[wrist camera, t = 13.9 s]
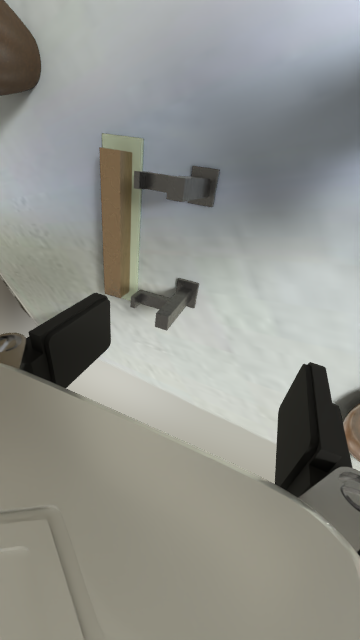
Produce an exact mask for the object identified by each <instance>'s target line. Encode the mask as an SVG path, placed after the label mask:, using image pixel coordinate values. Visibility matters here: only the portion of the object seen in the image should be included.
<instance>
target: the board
mask: <svg viewBox="0 0 360 640" xmlns="http://www.w3.org/2000/svg"><path fill="white" fill-rule="evenodd" d="M143 144H144V139H142V138H135V137H127V136H119V135H112V134H104V133H102V148H108V149H115V150H121V151H127V152H132V194H131V241H130V288H129V292H128V293H127V294H125V295H124V296H123V297H121V298H123V299H126V300H129V301H131V296H132V295H133V294H135V293H136V292H137V290H138V266H139V242H140V217H141V193H142V189H135V188H134V171H142V169H143Z"/></svg>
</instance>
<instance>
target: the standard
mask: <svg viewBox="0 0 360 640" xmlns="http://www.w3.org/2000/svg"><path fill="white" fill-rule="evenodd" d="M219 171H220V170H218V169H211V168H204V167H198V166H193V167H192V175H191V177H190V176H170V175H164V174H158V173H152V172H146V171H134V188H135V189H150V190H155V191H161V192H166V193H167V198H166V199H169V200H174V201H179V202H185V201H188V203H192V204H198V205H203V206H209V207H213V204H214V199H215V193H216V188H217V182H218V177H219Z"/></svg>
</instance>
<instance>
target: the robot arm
mask: <svg viewBox="0 0 360 640" xmlns="http://www.w3.org/2000/svg"><path fill="white" fill-rule="evenodd" d="M110 343H111V334H110V301H109V300H108V298H107V297H106V296H105V295H102V294H98V293H93V294H92V295H90V296H88V297H87V298H85V299H83V300H82V301H80V302H78V303H76V304H75V305H73V306H71V307H70V308H68V309H66V310H65V311H63V312H61V313H60V314H58V315H56V316H55V317H53V318H51V319H50V320H48V321H46V322H45V323H43V324H41V325H39V326H38V327H36V328H35V329H33V330H31V331H29V337H28V338H25V337H24V335H21V334H19V333H5V334H1V335H0V640H360V472H359V471H358V470H356V469H353V468H352V463H351V459H350V454H349V449H348V445H347V440H346V435H345V431H344V426H343V421H342V417H341V412H340V409H339V407H338V406H337V405H336V404H333V403H332V399H331V394H330V389H329V383H328V378H327V373H326V368H325V367H323V366H320V365H317V364H314V363H311V362H310V363H309V364H308V365H306V364H303V365H302V367H301V369H300V370H299V372H298V374H297V376H296V378H295V380H294V382H293V383H292V385H291V387H290V389H289V391H288V393H287V394H286V396H285V398H284V400H283V402H282V404H281V406H280V408H279V413H278V431H277V451H276V452H277V453H276V472H275V484H273V483H271V482H269V481H268V480H266V479H264V478H262V477H260V476H258V475H256V474H254V473H252V472H250V471H247V470H245V469H243V468H241V467H239V466H237V465H235V464H233V463H230V462H228V461H226V460H224V459H222V458H220V457H218V456H216V455H213V454H211V453H209V452H206V451H205V450H202V449H200V448H198V447H196V446H193V445H191V444H189V443H187V442H185V441H182V440H180V439H178V438H176V437H173V436H171V435H169V434H167V433H164V432H163V431H160V430H158V429H156V428H154V427H151V426H149V425H147V424H145V423H142V422H140V421H138V420H136V419H134V418H131V417H129V416H127V415H125V414H122V413H120V412H118V411H116V410H113V409H111V408H109V407H106V406H104V405H102V404H100V403H98V402H95V401H93V400H91V399H88V398H86V397H84V396H82V395H79V394H77V393H75V392H72V391H70V390H68V389H66V388H67V387H68V386H69V385H70V384H71V383H72V382H73V381H74V380H75V379H76V378H77V377H78V376H79V375H80V374H81V373H82V372H83V371H84V370H86V369H87V368H88V367H89V366H90V365H91V364H92V363H93V362H94V361H95V360H96V359H97V358H98V357H99V356H100V355H101V354H103V353H104V352H105V351H106V350H107V349H108V348H109V346H110Z"/></svg>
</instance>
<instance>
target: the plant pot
mask: <svg viewBox="0 0 360 640" xmlns="http://www.w3.org/2000/svg"><path fill="white" fill-rule="evenodd" d="M40 72H41V60H40V54H39V50H38V46H37V44H36V41H35V39H34V37H33V36H32V34H31V33H30V31H29V30H28V29H27V27H26V26H25V25H24V24H23V22H22V21H21V20H20V19H19V17H18V16H17V15H16V14H15V13H14V11H13V10H12V9H11V8H10V7H9V6H8V5H7V3H6V2H5V1H4V0H0V96H2V95H9V94H14V93H19V92H22V91H26V90H29V89H32V88H33V87H34V86H35V85H36V84H37V82H38V80H39V77H40Z"/></svg>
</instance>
